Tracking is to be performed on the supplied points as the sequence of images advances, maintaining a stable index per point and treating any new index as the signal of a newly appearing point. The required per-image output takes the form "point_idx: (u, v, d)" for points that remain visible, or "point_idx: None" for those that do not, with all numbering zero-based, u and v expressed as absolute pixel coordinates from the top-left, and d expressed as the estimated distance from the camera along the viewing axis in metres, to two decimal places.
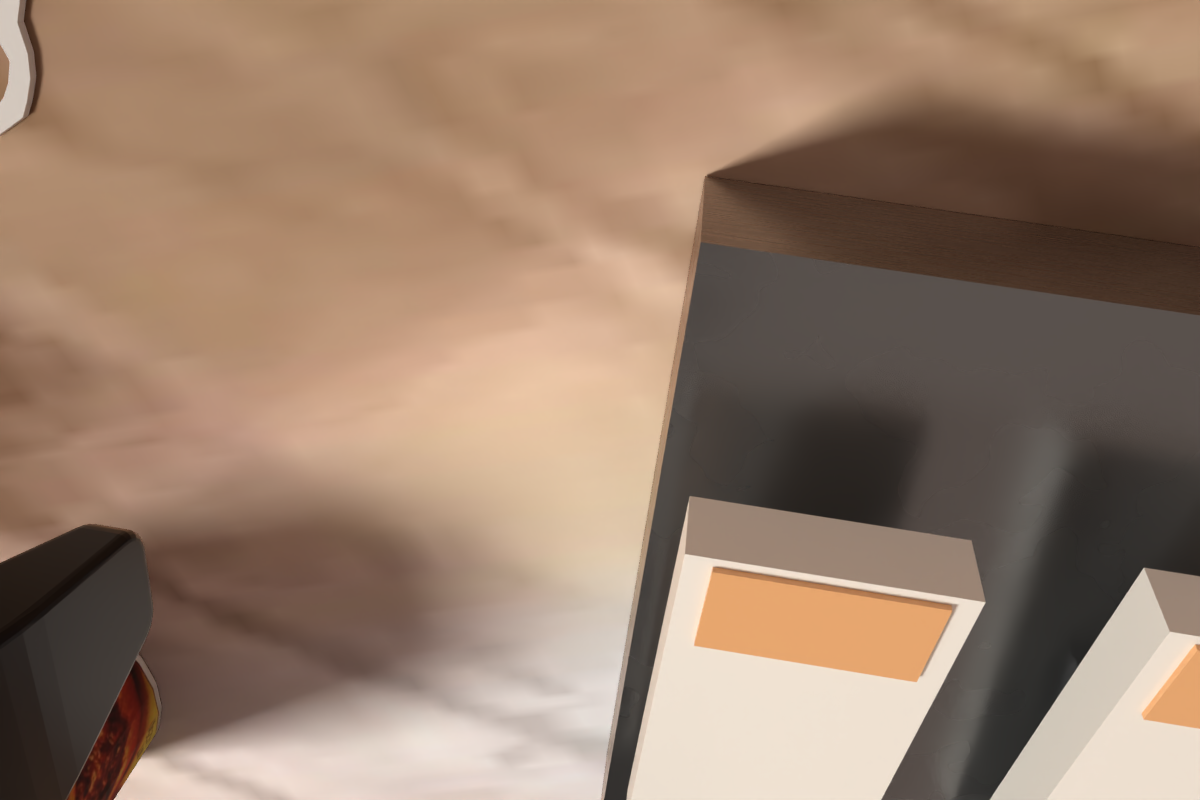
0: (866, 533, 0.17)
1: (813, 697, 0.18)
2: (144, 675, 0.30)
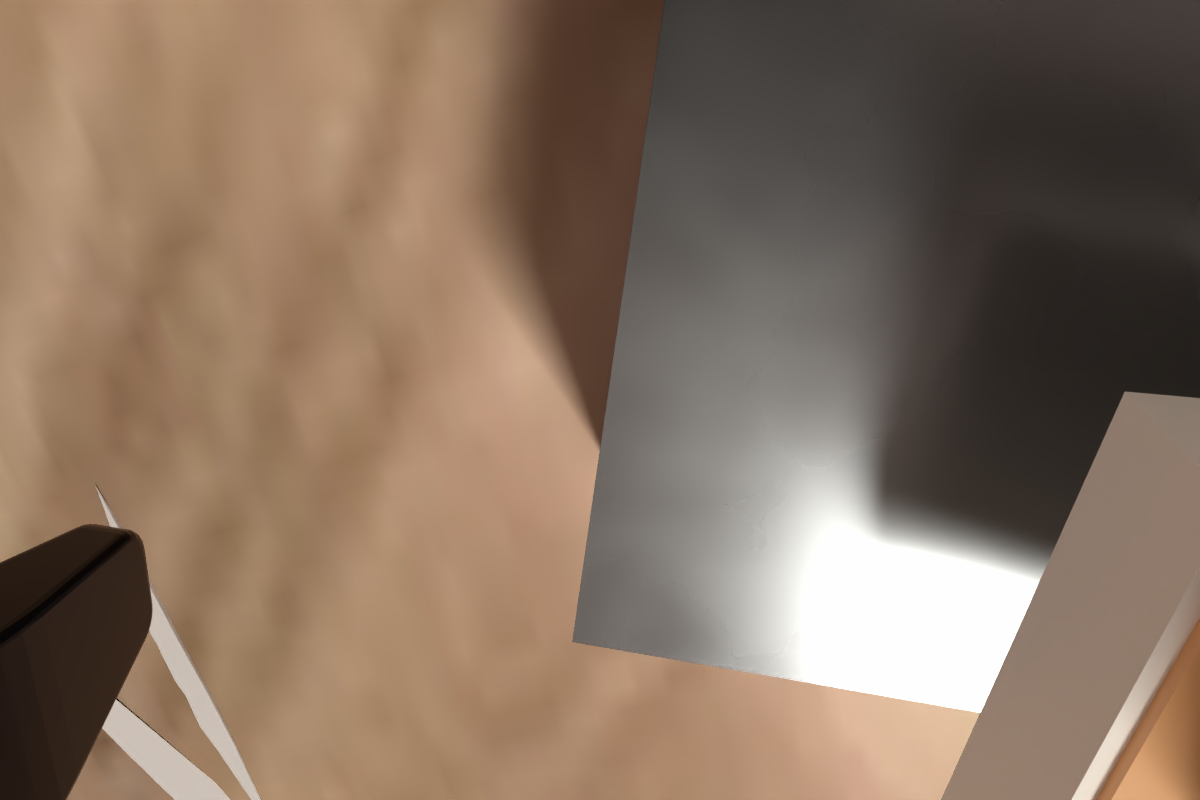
0: (1052, 599, 0.08)
1: None
2: None
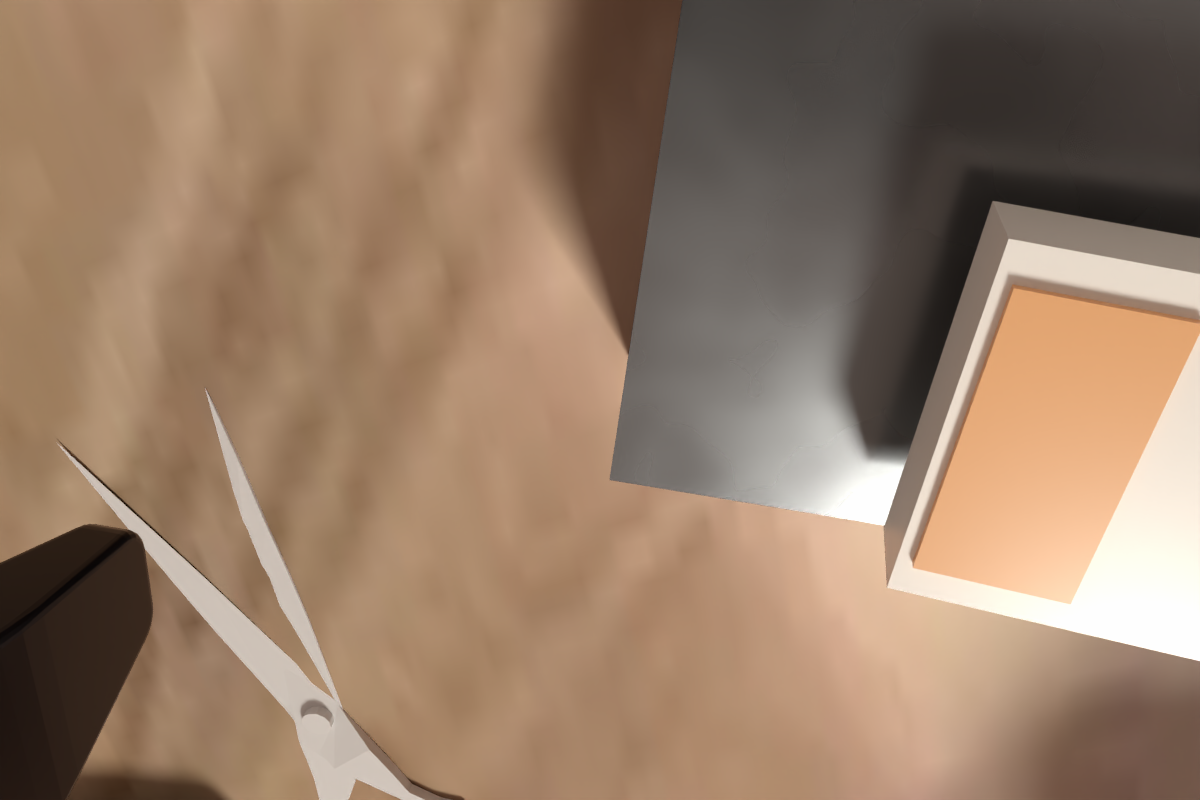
0: (949, 345, 0.13)
1: None
2: None
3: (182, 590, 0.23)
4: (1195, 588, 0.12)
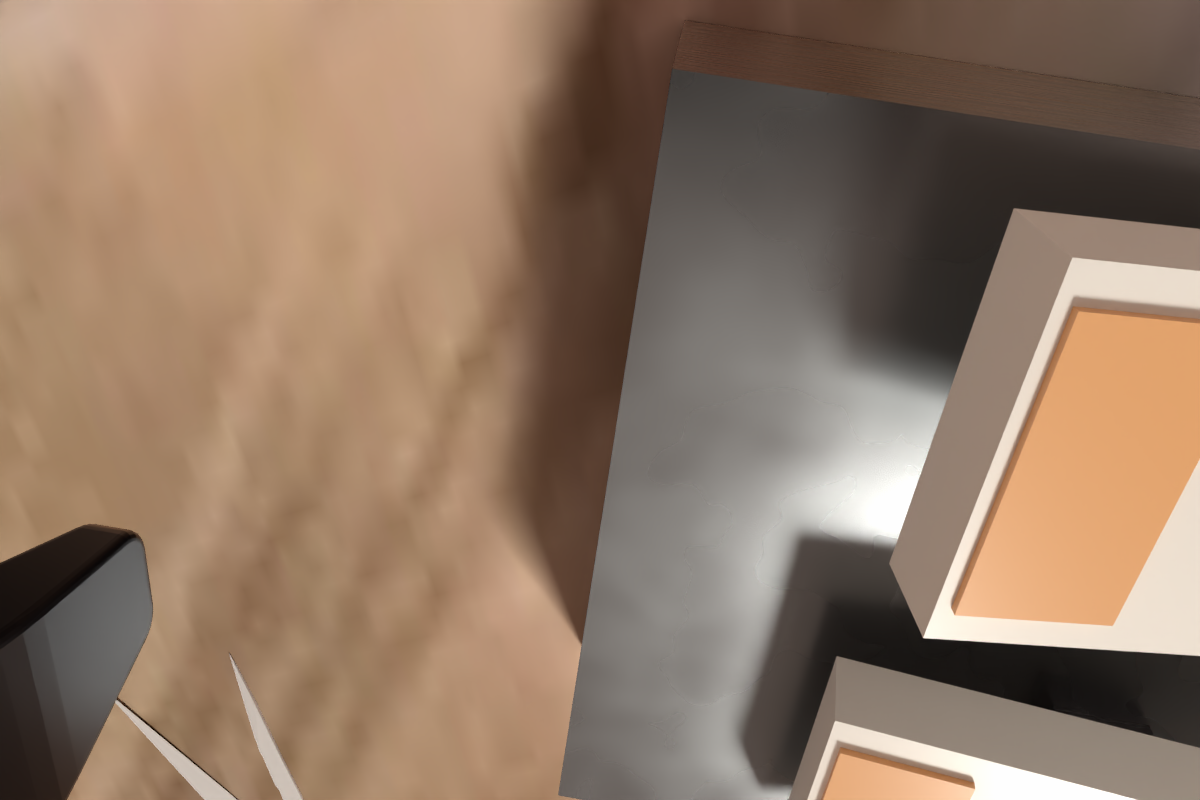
0: (809, 746, 0.17)
1: None
2: None
3: (206, 799, 0.27)
4: None
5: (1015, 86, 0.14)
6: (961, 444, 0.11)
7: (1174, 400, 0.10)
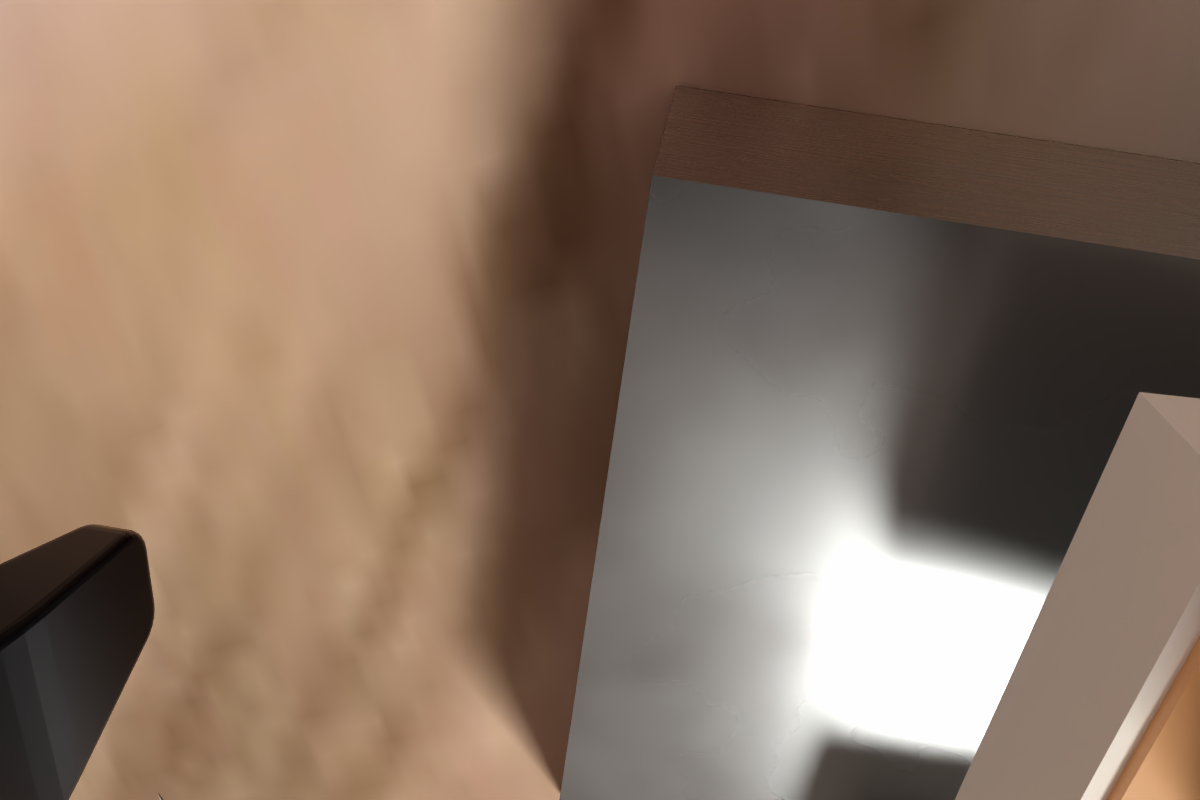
0: None
1: None
2: None
3: None
4: None
5: (1108, 178, 0.11)
6: (1053, 707, 0.08)
7: None
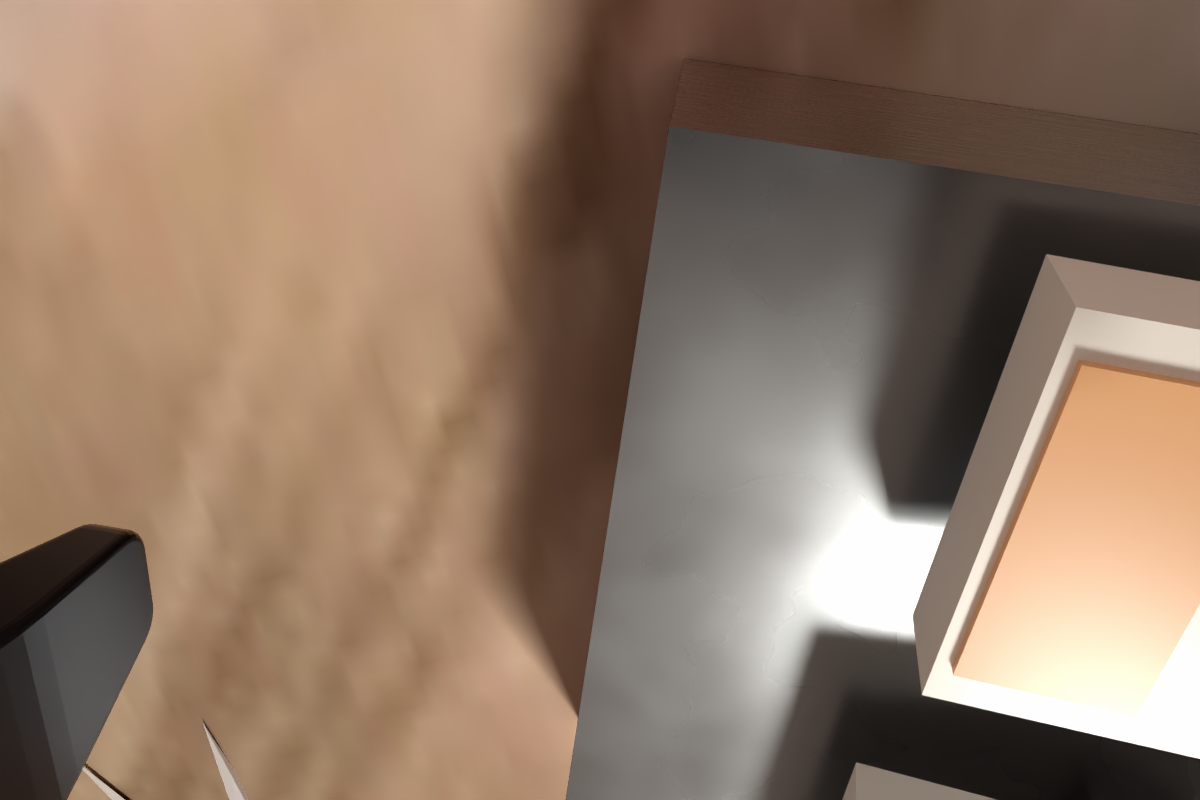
0: None
1: None
2: None
3: None
4: None
5: (1055, 135, 0.13)
6: (976, 496, 0.11)
7: (1199, 474, 0.09)
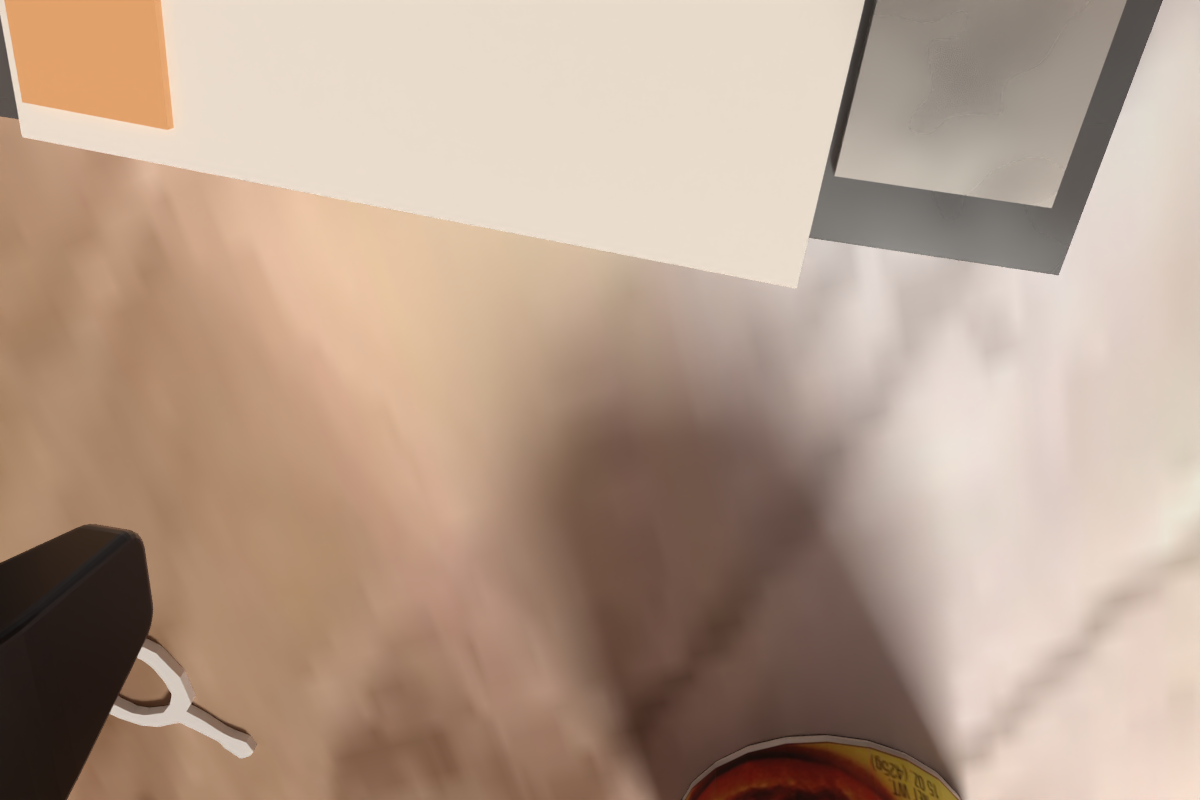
0: None
1: None
2: (803, 743, 0.25)
3: None
4: (270, 97, 0.12)
5: None
6: None
7: None
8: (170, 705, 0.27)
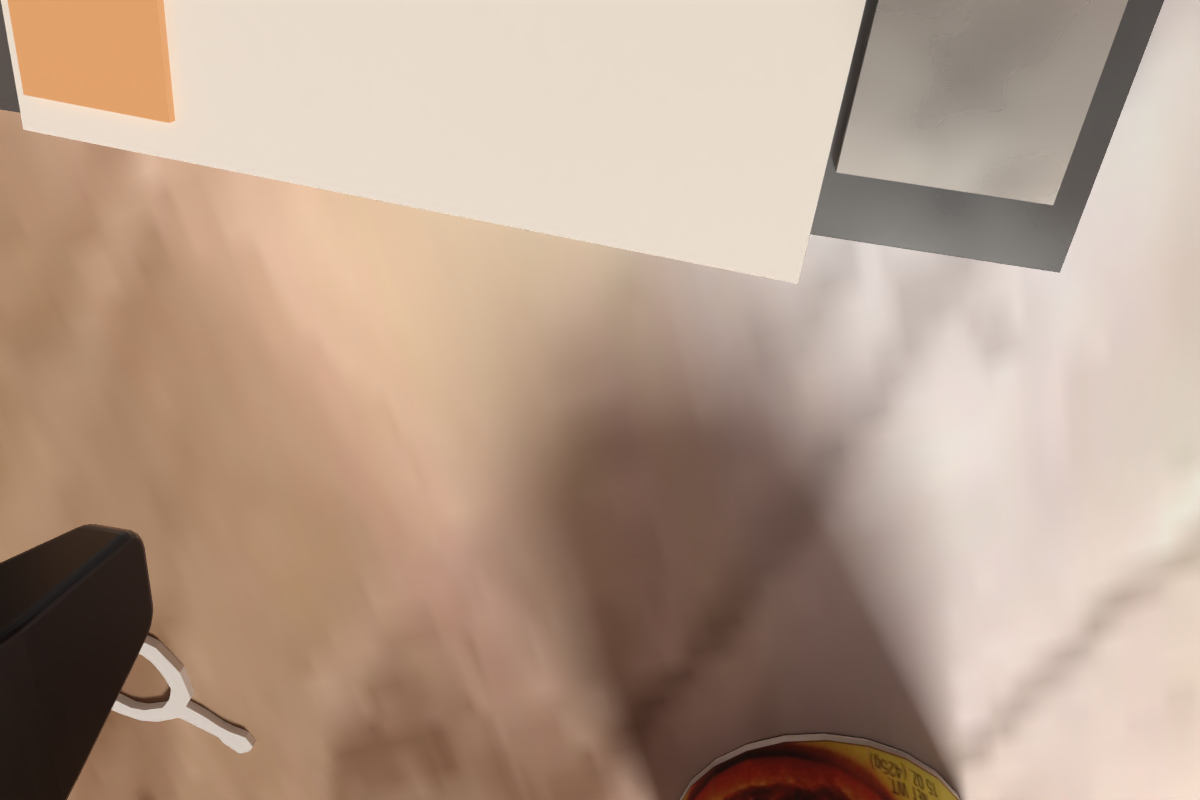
0: None
1: None
2: (802, 741, 0.25)
3: None
4: (272, 91, 0.12)
5: None
6: None
7: None
8: (169, 700, 0.27)
